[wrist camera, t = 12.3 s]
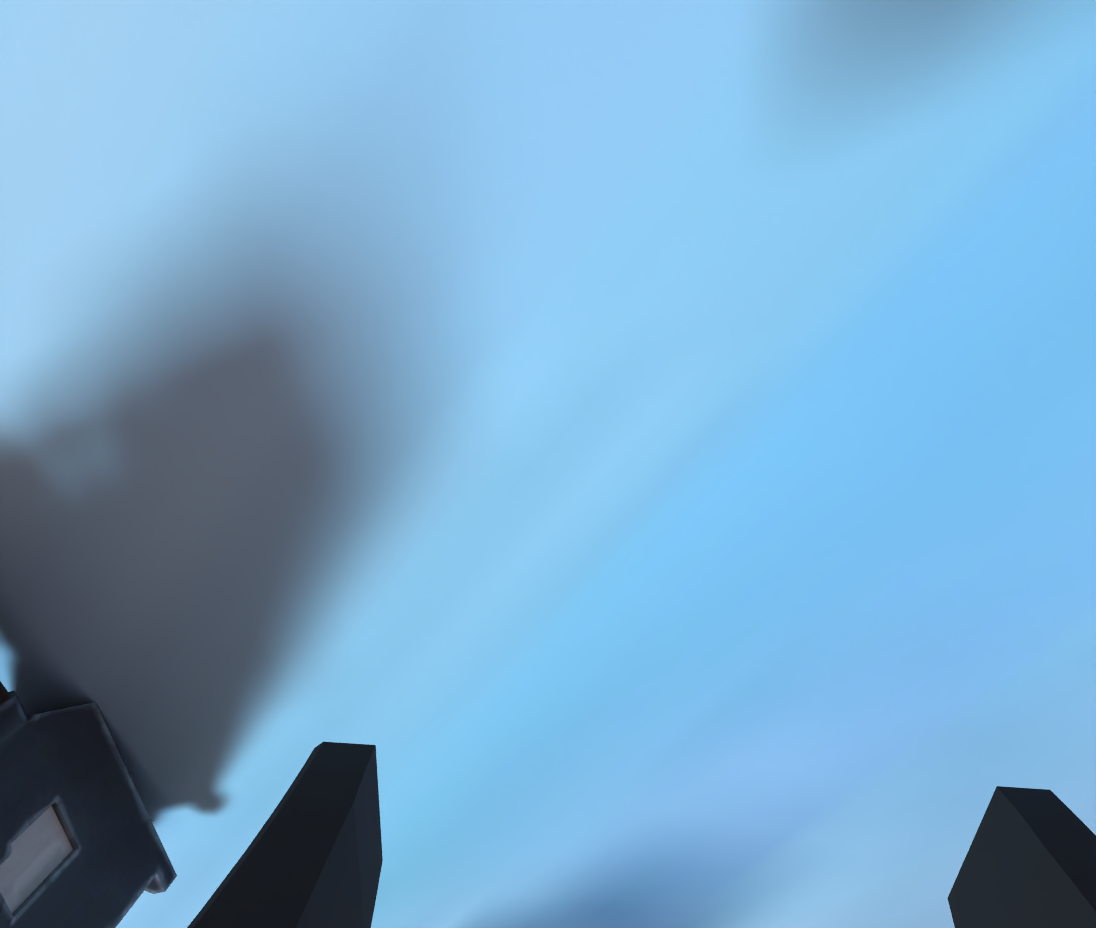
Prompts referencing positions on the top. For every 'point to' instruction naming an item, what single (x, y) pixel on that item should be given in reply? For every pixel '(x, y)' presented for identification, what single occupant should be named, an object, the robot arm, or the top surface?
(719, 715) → the top surface
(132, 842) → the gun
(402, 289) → the top surface
